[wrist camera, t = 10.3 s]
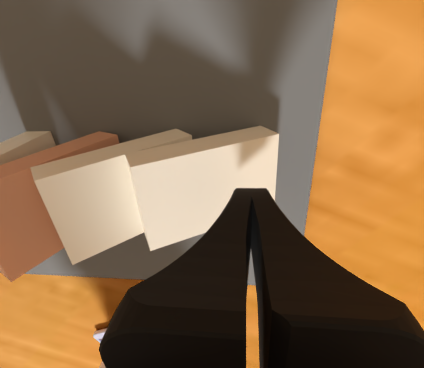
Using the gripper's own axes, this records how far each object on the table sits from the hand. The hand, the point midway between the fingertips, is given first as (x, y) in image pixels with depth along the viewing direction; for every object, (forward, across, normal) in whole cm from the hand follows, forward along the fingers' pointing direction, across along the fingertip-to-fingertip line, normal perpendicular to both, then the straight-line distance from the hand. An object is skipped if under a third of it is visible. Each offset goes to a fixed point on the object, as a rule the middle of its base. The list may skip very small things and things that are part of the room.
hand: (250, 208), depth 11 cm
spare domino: (+4, +8, 0) cm, 9 cm away
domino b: (+4, +4, 0) cm, 5 cm away
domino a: (+4, -1, 0) cm, 4 cm away
